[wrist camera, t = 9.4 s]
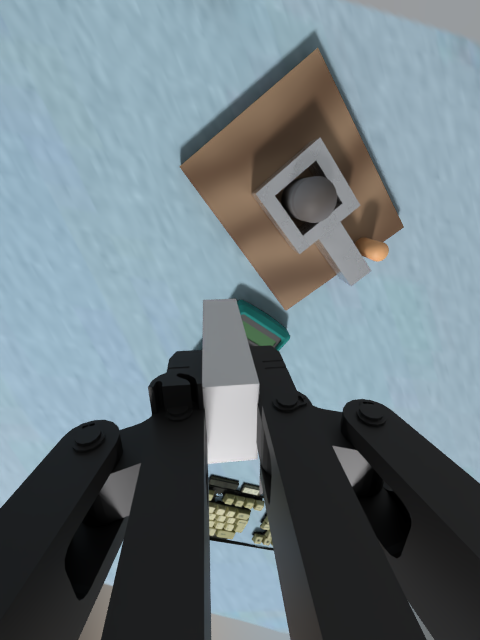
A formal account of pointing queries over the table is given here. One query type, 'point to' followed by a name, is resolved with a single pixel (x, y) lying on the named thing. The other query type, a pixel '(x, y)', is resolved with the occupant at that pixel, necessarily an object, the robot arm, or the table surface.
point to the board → (300, 194)
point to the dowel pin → (372, 249)
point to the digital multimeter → (261, 327)
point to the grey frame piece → (324, 233)
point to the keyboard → (235, 511)
